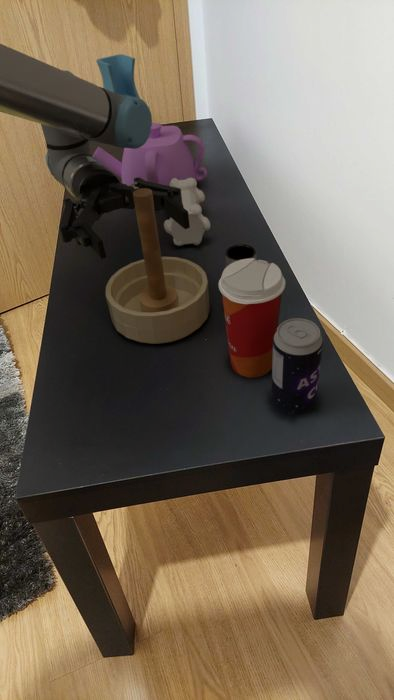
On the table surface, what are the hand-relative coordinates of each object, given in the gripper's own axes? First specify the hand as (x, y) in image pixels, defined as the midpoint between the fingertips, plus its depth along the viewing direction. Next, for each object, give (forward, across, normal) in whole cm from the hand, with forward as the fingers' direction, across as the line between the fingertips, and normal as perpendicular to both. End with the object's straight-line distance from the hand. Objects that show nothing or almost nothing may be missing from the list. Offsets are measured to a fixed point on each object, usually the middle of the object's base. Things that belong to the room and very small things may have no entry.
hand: (145, 234), depth 73 cm
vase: (-76, -28, -14) cm, 82 cm away
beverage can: (+28, -6, -14) cm, 32 cm away
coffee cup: (+19, -6, -14) cm, 24 cm away
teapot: (-41, -20, -14) cm, 48 cm away
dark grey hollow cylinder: (+7, -12, -14) cm, 20 cm away
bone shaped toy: (-21, -17, -14) cm, 30 cm away
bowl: (+1, 0, -14) cm, 14 cm away
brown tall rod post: (+1, 0, -13) cm, 13 cm away
